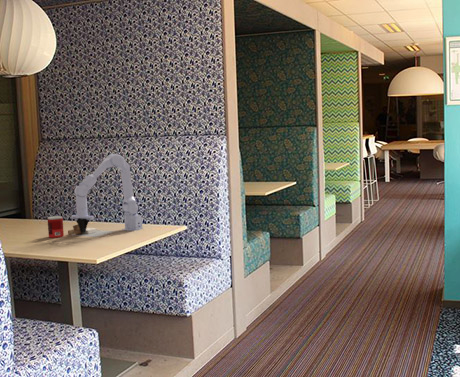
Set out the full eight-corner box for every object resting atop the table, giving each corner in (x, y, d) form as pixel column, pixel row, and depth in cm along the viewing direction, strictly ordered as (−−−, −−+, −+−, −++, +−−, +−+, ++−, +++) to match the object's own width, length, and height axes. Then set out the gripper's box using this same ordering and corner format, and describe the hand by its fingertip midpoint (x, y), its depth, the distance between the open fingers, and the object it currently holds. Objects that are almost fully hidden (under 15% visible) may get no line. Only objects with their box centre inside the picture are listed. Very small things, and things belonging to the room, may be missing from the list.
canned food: (66, 236, 338) (65, 216, 337) (58, 239, 330) (56, 218, 329) (54, 235, 340) (53, 215, 339) (45, 238, 333) (44, 218, 332)
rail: (79, 232, 344) (78, 228, 344) (70, 235, 338) (70, 230, 338) (77, 232, 345) (76, 228, 345) (68, 234, 339) (67, 230, 339)
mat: (115, 232, 345) (115, 231, 345) (95, 237, 330) (95, 236, 330) (88, 230, 354) (87, 229, 354) (67, 235, 340) (66, 234, 340)
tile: (96, 228, 345) (87, 227, 349) (88, 230, 339) (78, 229, 342) (97, 231, 345) (87, 231, 349) (88, 234, 339) (78, 233, 343)
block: (85, 231, 340) (83, 223, 340) (80, 233, 337) (78, 224, 337) (80, 233, 342) (77, 224, 342) (75, 234, 339) (72, 226, 339)
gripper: (66, 208, 336) (68, 233, 338) (87, 209, 329) (88, 234, 331) (75, 206, 342) (77, 230, 344) (96, 207, 336) (97, 232, 337)
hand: (83, 232), depth 338 cm, fingers closed
